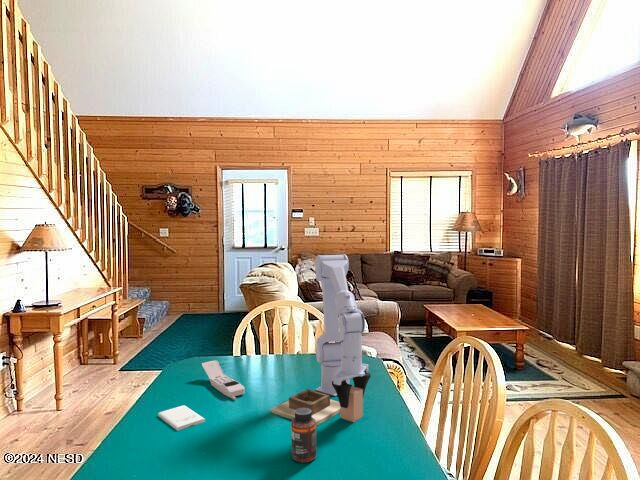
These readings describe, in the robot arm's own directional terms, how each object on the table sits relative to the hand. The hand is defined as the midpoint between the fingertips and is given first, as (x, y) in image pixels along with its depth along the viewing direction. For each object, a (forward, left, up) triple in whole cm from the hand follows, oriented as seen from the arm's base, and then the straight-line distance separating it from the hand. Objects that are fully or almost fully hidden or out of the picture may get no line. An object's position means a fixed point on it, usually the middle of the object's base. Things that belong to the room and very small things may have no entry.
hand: (351, 402), depth 136 cm
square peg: (0, 0, -4) cm, 4 cm away
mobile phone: (+7, -47, -5) cm, 47 cm away
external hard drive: (+30, -38, -5) cm, 48 cm away
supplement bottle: (+25, +3, -4) cm, 26 cm away
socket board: (+3, -13, -4) cm, 14 cm away
